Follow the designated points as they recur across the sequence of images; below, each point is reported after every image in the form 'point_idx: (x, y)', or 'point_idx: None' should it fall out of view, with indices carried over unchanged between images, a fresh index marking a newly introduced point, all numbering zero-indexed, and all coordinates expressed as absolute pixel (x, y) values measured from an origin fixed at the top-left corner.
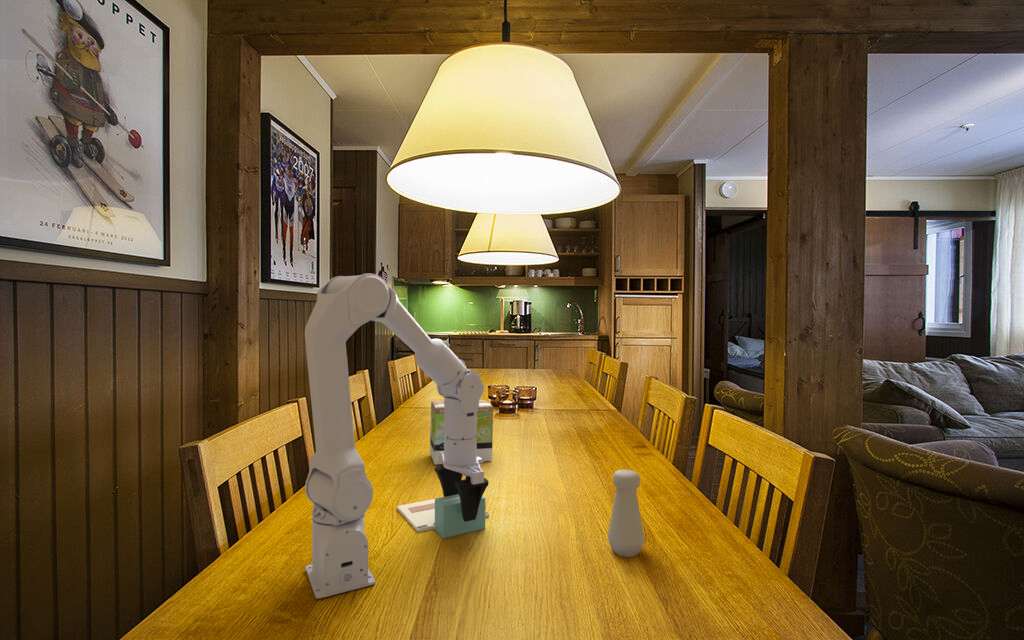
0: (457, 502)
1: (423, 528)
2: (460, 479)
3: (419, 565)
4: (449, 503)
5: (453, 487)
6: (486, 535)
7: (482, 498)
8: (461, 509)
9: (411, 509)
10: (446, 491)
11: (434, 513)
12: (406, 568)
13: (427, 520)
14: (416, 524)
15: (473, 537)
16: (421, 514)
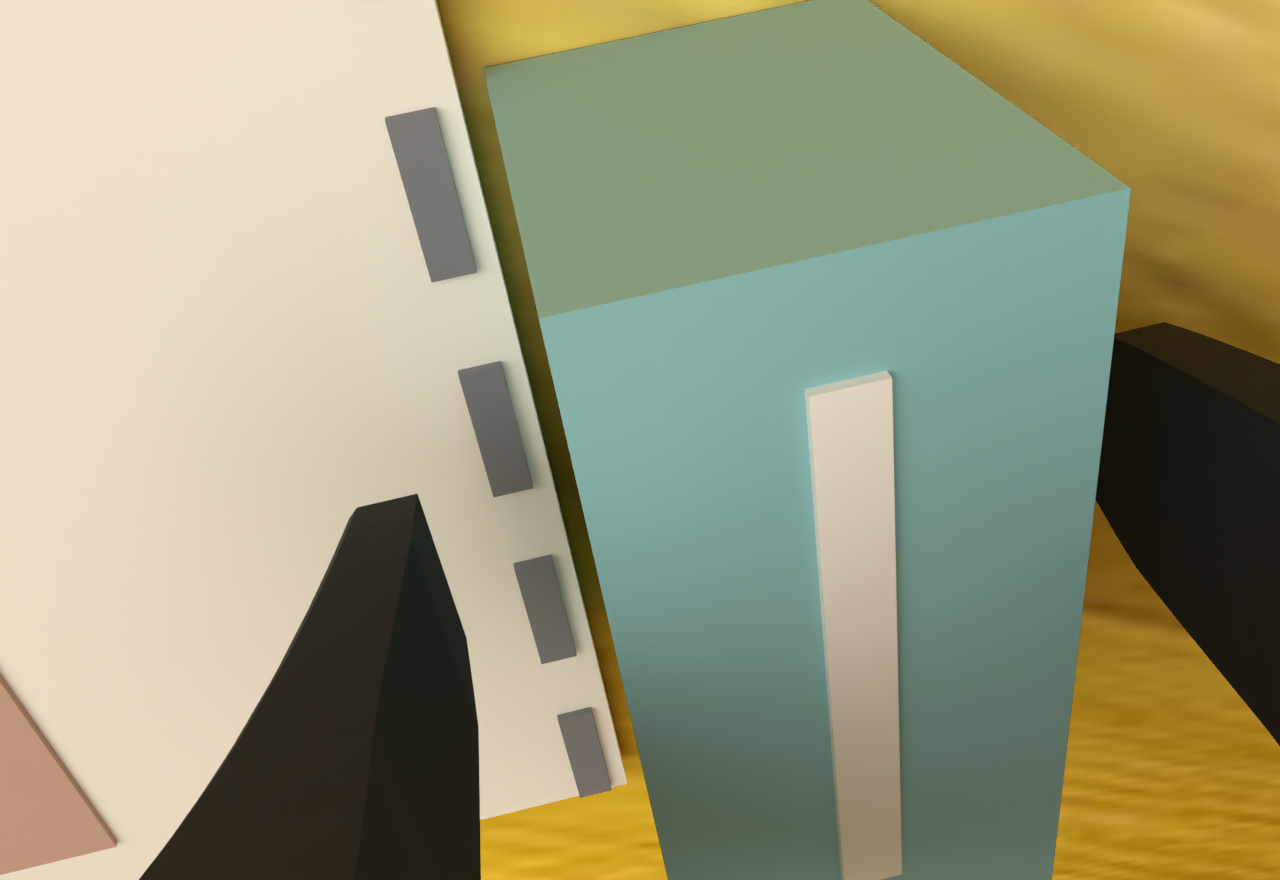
0: (1027, 720)
1: (613, 734)
2: (371, 859)
3: (1232, 736)
4: (997, 817)
5: (429, 825)
6: (1070, 40)
7: (1115, 263)
8: (1197, 642)
9: (6, 856)
10: (470, 873)
11: (183, 630)
12: (1211, 803)
13: None
14: (501, 797)
15: None
16: (192, 759)
